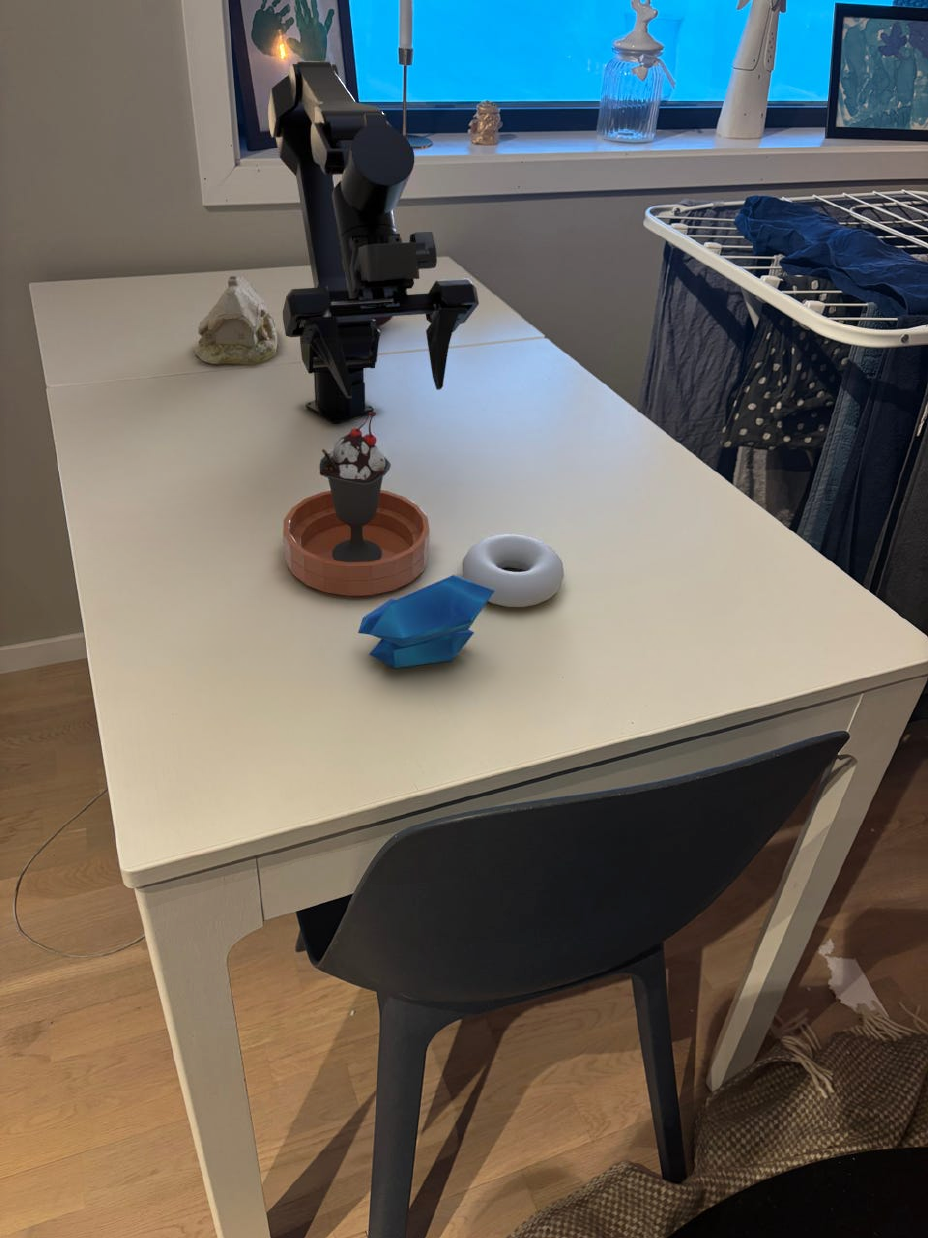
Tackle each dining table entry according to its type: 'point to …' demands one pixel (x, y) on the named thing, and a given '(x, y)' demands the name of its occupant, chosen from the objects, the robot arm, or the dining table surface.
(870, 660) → the dining table surface
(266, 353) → the ceramic model
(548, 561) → the donut
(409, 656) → the crystal
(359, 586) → the bowl
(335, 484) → the sundae
